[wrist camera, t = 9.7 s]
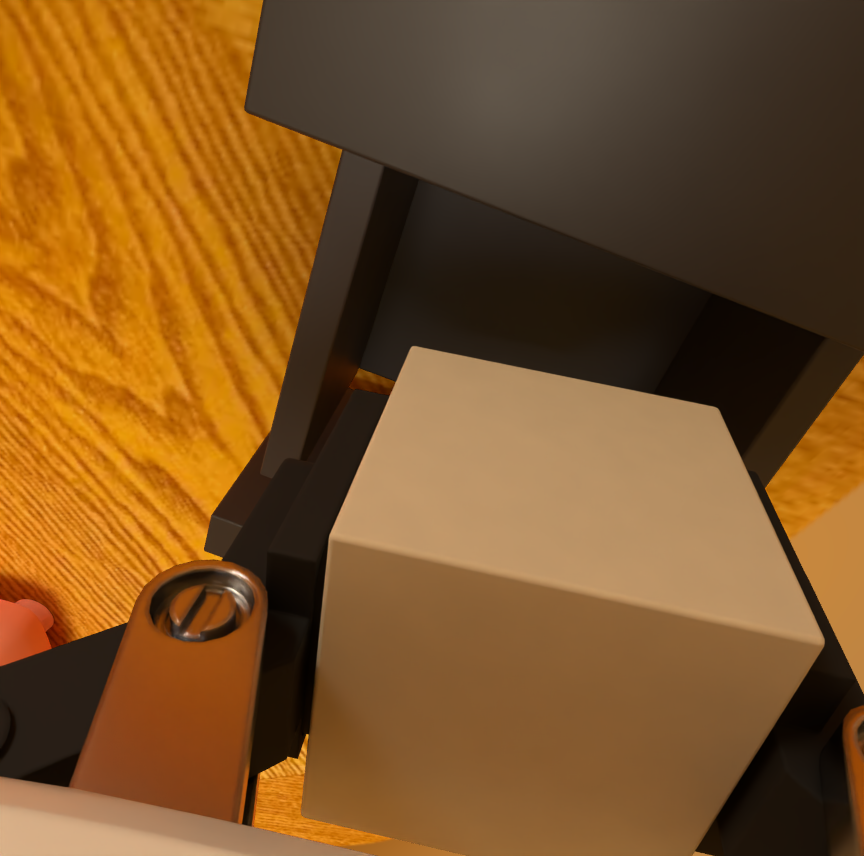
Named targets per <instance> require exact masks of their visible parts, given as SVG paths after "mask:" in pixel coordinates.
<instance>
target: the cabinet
mask: <svg viewBox="0 0 864 856" xmlns="http://www.w3.org/2000/svg"><path fill="white" fill-rule="evenodd" d="M244 108H245V111H246V112H247V113H249V114H251V115H254V116H257V117H259V118H262V119H264V120H267V121H270V122H272V123H275V124H277V125H280V126H282V127H285V128H288V129H290V130H293V131H295V132H298V133H300V134H303V135H306V136H308V137H311V138H313V139H316V140H318V141H321V142H324V143H326V144H329V145H331V146H334V147H336V148H339V149H342V150H344V151H347V152H349V153H352V154H355V155H357V156H360V157H362V158H365V159H367V160H370V161H373V162H375V163H378V164H380V165H383V166H385V167H388V168H391V169H393V170H396V171H398V172H401V173H403V174H406V175H409V176H411V177H414V178H416V179H419V180H421V181H424V182H427V183H429V184H432V185H434V186H437V187H440V188H442V189H445V190H447V191H450V192H452V193H455V194H458V195H460V196H463V197H465V198H468V199H470V200H473V201H476V202H478V203H481V204H483V205H486V206H488V207H491V208H494V209H496V210H499V211H501V212H504V213H506V214H509V215H512V216H514V217H517V218H519V219H522V220H525V221H527V222H530V223H532V224H535V225H537V226H540V227H543V228H545V229H548V230H550V231H553V232H555V233H558V234H561V235H563V236H566V237H568V238H571V239H573V240H576V241H579V242H581V243H584V244H586V245H589V246H591V247H594V248H597V249H599V250H602V251H604V252H607V253H610V254H612V255H615V256H617V257H620V258H622V259H625V260H628V261H630V262H633V263H635V264H638V265H640V266H643V267H646V268H648V269H651V270H653V271H656V272H658V273H661V274H664V275H666V276H669V277H671V278H674V279H676V280H679V281H682V282H684V283H687V284H689V285H692V286H695V287H697V288H700V289H702V290H705V291H707V292H710V293H713V294H715V295H718V296H720V297H723V298H725V299H728V300H731V301H733V302H736V303H738V304H741V305H743V306H746V307H749V308H751V309H754V310H756V311H759V312H761V313H764V314H767V315H769V316H772V317H774V318H777V319H780V320H782V321H785V322H787V323H790V324H792V325H795V326H798V327H800V328H803V329H805V330H808V331H810V332H813V333H816V334H818V335H821V336H823V337H826V338H828V339H831V340H834V341H836V342H839V343H841V344H844V345H846V346H849V347H852V348H854V349H857V350H859V351H862V352H864V0H263V5H262V11H261V17H260V22H259V28H258V33H257V39H256V44H255V50H254V56H253V61H252V67H251V72H250V78H249V84H248V89H247V95H246V100H245V106H244Z"/></svg>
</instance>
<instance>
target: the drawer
mask: <svg viewBox="0 0 864 856" xmlns="http://www.w3.org/2000/svg"><path fill="white" fill-rule="evenodd" d="M412 346H417V347H422V348H427V349H432V350H436V351H441V352H446V353H451V354H456V355H461V356H466V357H471V358H476V359H481V360H486V361H491V362H496V363H501V364H505V365H510V366H515V367H520V368H525V369H530V370H535V371H540V372H545V373H550V374H555V375H560V376H565V377H569V378H574V379H579V380H584V381H589V382H594V383H599V384H604V385H609V386H614V387H619V388H624V389H629V390H634V391H638V392H643V393H648V394H653V395H658V396H663V397H668V398H673V399H678V400H683V401H688V402H693V403H698V404H702V405H707V406H712V407H716V408H718V409H719V411H720V413H721V415H722V417H723V420H724V422H725V424H726V426H727V428H728V430H729V433H730V435H731V437H732V439H733V441H734V444H735V446H736V448H737V450H738V452H739V454H740V457H741V459H742V461H743V463H744V465H745V467H746V470H751V471H755V472H756V473H757V474H758V476H759V478H760V480H761V482H762V484H763V486H764V488H765V487H766V486H767V484H768V483H769V482H770V480H771V479H772V478H773V476H774V475H775V474H776V472H777V471H778V470H779V468H780V467H781V466H782V464H783V463H784V461H785V460H786V459H787V457H788V456H789V455H790V453H791V452H792V451H793V449H794V448H795V447H796V445H797V444H798V443H799V441H800V440H801V439H802V437H803V436H804V434H805V433H806V432H807V430H808V429H809V428H810V426H811V425H812V424H813V422H814V421H815V420H816V418H817V417H818V416H819V414H820V413H821V412H822V410H823V409H824V408H825V406H826V405H827V403H828V402H829V401H830V399H831V398H832V397H833V395H834V394H835V393H836V391H837V390H838V389H839V387H840V386H841V385H842V383H843V382H844V381H845V379H846V378H847V376H848V375H849V374H850V372H851V371H852V370H853V368H854V367H855V366H856V364H857V363H858V362H859V360H860V359H861V358H862V356H863V355H864V352H862V351H859V350H857V349H854V348H852V347H849V346H846V345H844V344H841V343H839V342H836V341H834V340H831V339H828V338H826V337H823V336H821V335H818V334H816V333H813V332H810V331H808V330H805V329H803V328H800V327H798V326H795V325H792V324H790V323H787V322H785V321H782V320H780V319H777V318H774V317H772V316H769V315H767V314H764V313H761V312H759V311H756V310H754V309H751V308H749V307H746V306H743V305H741V304H738V303H736V302H733V301H731V300H728V299H725V298H723V297H720V296H718V295H715V294H713V293H710V292H707V291H705V290H702V289H700V288H697V287H695V286H692V285H689V284H687V283H684V282H682V281H679V280H676V279H674V278H671V277H669V276H666V275H664V274H661V273H658V272H656V271H653V270H651V269H648V268H646V267H643V266H640V265H638V264H635V263H633V262H630V261H628V260H625V259H622V258H620V257H617V256H615V255H612V254H610V253H607V252H604V251H602V250H599V249H597V248H594V247H591V246H589V245H586V244H584V243H581V242H579V241H576V240H573V239H571V238H568V237H566V236H563V235H561V234H558V233H555V232H553V231H550V230H548V229H545V228H543V227H540V226H537V225H535V224H532V223H530V222H527V221H525V220H522V219H519V218H517V217H514V216H512V215H509V214H506V213H504V212H501V211H499V210H496V209H494V208H491V207H488V206H486V205H483V204H481V203H478V202H476V201H473V200H470V199H468V198H465V197H463V196H460V195H458V194H455V193H452V192H450V191H447V190H445V189H442V188H440V187H437V186H434V185H432V184H429V183H427V182H424V181H421V180H419V179H416V178H414V177H411V176H409V175H406V174H403V173H401V172H398V171H396V170H393V169H391V168H388V167H385V166H383V165H380V164H378V163H375V162H373V161H370V160H367V159H365V158H362V157H360V156H357V155H355V154H352V153H349V152H347V151H344V150H342V154H341V158H340V162H339V166H338V169H337V173H336V177H335V181H334V185H333V189H332V193H331V197H330V201H329V205H328V209H327V213H326V216H325V220H324V224H323V228H322V232H321V236H320V240H319V244H318V248H317V252H316V256H315V259H314V263H313V267H312V271H311V275H310V279H309V283H308V287H307V291H306V295H305V299H304V303H303V306H302V310H301V314H300V318H299V322H298V326H297V330H296V334H295V338H294V342H293V346H292V350H291V353H290V357H289V361H288V365H287V369H286V373H285V377H284V381H283V385H282V389H281V393H280V396H279V400H278V404H277V408H276V412H275V416H274V420H273V424H272V428H271V431H270V432H269V434H268V435H267V437H266V438H265V440H264V441H263V442H262V444H261V445H260V447H259V448H258V450H257V451H256V452H255V454H254V455H253V457H252V458H251V460H250V461H249V462H248V464H247V465H246V467H245V468H244V470H243V471H242V472H241V474H240V475H239V477H238V478H237V480H236V481H235V482H234V484H233V485H232V487H231V488H230V490H229V491H228V492H227V494H226V495H225V497H224V498H223V500H222V501H221V502H220V504H219V505H218V507H217V508H216V510H215V511H214V512H213V514H212V515H211V520H210V524H209V529H208V534H207V538H206V543H205V547H204V551H206V552H209V553H212V554H214V555H217V556H220V557H224V556H225V554H226V552H227V551H228V549H229V548H230V546H231V544H232V543H233V541H234V540H235V538H236V536H237V535H238V533H239V531H240V530H241V528H242V527H243V525H244V523H245V522H246V520H247V519H248V517H249V515H250V514H251V512H252V510H253V509H254V507H255V506H256V504H257V502H258V501H259V499H260V497H261V496H262V494H263V493H264V491H265V489H266V488H267V486H268V485H269V483H270V481H271V480H272V478H273V476H274V475H275V473H276V472H277V470H278V468H279V467H280V465H281V464H282V462H283V461H284V460H285V459H286V458H293V459H298V460H302V461H307V462H312V463H315V462H316V460H317V458H318V456H319V454H320V452H321V450H322V449H323V447H324V445H325V443H326V441H327V439H328V438H329V436H330V434H331V432H332V430H333V428H334V426H335V425H336V423H337V421H338V419H339V417H340V415H341V414H342V412H343V410H344V408H345V406H346V404H347V402H348V401H349V399H350V397H351V395H352V393H353V391H354V390H352V389H350V388H348V387H349V385H350V383H351V382H352V380H353V378H354V376H355V375H356V373H357V371H358V369H359V368H361V369H363V370H366V371H369V372H371V373H374V374H377V375H379V376H382V377H385V378H387V379H390V380H393V381H395V382H396V381H397V378H398V376H399V374H400V371H401V369H402V367H403V364H404V362H405V360H406V357H407V355H408V353H409V351H410V349H411V347H412Z"/></svg>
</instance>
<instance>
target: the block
mask: <svg viewBox="0 0 864 856" xmlns="http://www.w3.org/2000/svg"><path fill="white" fill-rule="evenodd" d="M824 643H825V640H824V637H823V635H822V632H821V630H820V628H819V626H818V624H817V622H816V619H815V617H814V615H813V613H812V611H811V609H810V606H809V604H808V602H807V600H806V598H805V596H804V593H803V591H802V589H801V587H800V585H799V582H798V580H797V578H796V576H795V574H794V572H793V569H792V567H791V565H790V563H789V561H788V559H787V556H786V554H785V552H784V550H783V548H782V546H781V543H780V541H779V539H778V537H777V535H776V533H775V530H774V528H773V526H772V524H771V522H770V520H769V517H768V515H767V513H766V511H765V509H764V506H763V504H762V502H761V500H760V498H759V496H758V493H757V491H756V489H755V487H754V485H753V483H752V480H751V478H750V476H749V474H748V472H747V470H746V467H745V465H744V463H743V461H742V459H741V457H740V454H739V452H738V450H737V448H736V446H735V444H734V441H733V439H732V437H731V435H730V433H729V430H728V428H727V426H726V424H725V422H724V420H723V417H722V415H721V413H720V411H719V409H718V408H716V407H712V406H707V405H702V404H698V403H693V402H688V401H683V400H678V399H673V398H668V397H663V396H658V395H653V394H648V393H643V392H638V391H634V390H629V389H624V388H619V387H614V386H609V385H604V384H599V383H594V382H589V381H584V380H579V379H574V378H569V377H565V376H560V375H555V374H550V373H545V372H540V371H535V370H530V369H525V368H520V367H515V366H510V365H505V364H501V363H496V362H491V361H486V360H481V359H476V358H471V357H466V356H461V355H456V354H451V353H446V352H441V351H436V350H432V349H427V348H422V347H417V346H412V347H411V349H410V351H409V353H408V355H407V357H406V360H405V362H404V364H403V367H402V369H401V371H400V374H399V376H398V378H397V381H396V383H395V385H394V387H393V390H392V392H391V394H390V397H389V399H388V401H387V404H386V406H385V408H384V410H383V413H382V415H381V417H380V420H379V422H378V424H377V427H376V429H375V431H374V434H373V436H372V438H371V440H370V443H369V445H368V447H367V450H366V452H365V454H364V457H363V459H362V461H361V464H360V466H359V468H358V470H357V473H356V475H355V477H354V480H353V482H352V484H351V487H350V489H349V491H348V493H347V496H346V498H345V500H344V503H343V505H342V507H341V510H340V512H339V514H338V517H337V519H336V521H335V523H334V526H333V528H332V530H331V533H330V535H329V543H328V552H327V562H326V572H325V582H324V591H323V601H322V611H321V621H320V630H319V640H318V650H317V660H316V669H315V679H314V689H313V698H312V708H311V718H310V728H309V737H308V747H307V757H306V767H305V776H304V786H303V796H302V806H301V815H302V816H303V817H305V818H309V819H313V820H318V821H322V822H326V823H330V824H334V825H339V826H343V827H347V828H351V829H356V830H360V831H364V832H368V833H373V834H377V835H381V836H385V837H389V838H394V839H398V840H402V841H407V842H411V843H415V844H419V845H424V846H428V847H432V848H436V849H440V850H445V851H449V852H453V853H458V854H462V855H466V856H692V855H693V853H694V852H695V850H696V849H697V847H698V845H699V844H700V842H701V841H702V839H703V838H704V836H705V834H706V833H707V831H708V830H709V828H710V826H711V825H712V823H713V822H714V820H715V819H716V817H717V815H718V814H719V812H720V811H721V809H722V807H723V806H724V804H725V803H726V801H727V799H728V798H729V796H730V795H731V793H732V792H733V790H734V788H735V787H736V785H737V784H738V782H739V780H740V779H741V777H742V776H743V774H744V773H745V771H746V769H747V768H748V766H749V765H750V763H751V761H752V760H753V758H754V757H755V755H756V754H757V752H758V750H759V749H760V747H761V746H762V744H763V742H764V741H765V739H766V738H767V736H768V734H769V733H770V731H771V730H772V728H773V727H774V725H775V723H776V722H777V720H778V719H779V717H780V715H781V714H782V712H783V711H784V709H785V708H786V706H787V704H788V703H789V701H790V700H791V698H792V696H793V695H794V693H795V692H796V690H797V688H798V687H799V685H800V684H801V682H802V681H803V679H804V677H805V676H806V674H807V673H808V671H809V669H810V668H811V666H812V665H813V663H814V662H815V660H816V658H817V657H818V655H819V654H820V652H821V650H822V649H823V647H824Z"/></svg>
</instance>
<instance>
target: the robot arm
mask: <svg viewBox="0 0 864 856" xmlns="http://www.w3.org/2000/svg"><path fill="white" fill-rule="evenodd" d="M389 397H390V396H388V395H383V394H378V393H373V392H369V391H364V390H359V389H355V390H354V391H353V393H352V395H351V397H350V399H349V401H348V402H347V404H346V406H345V408H344V410H343V412H342V414H341V415H340V417H339V419H338V421H337V423H336V425H335V426H334V428H333V430H332V432H331V434H330V436H329V438H328V439H327V441H326V443H325V445H324V447H323V449H322V450H321V452H320V454H319V456H318V458H317V460H316V462H315V463H312V462H307V461H302V460H298V459H293V458H286V459H285V460H284V461H283V462H282V464H281V465H280V467H279V468H278V470H277V472H276V473H275V475H274V476H273V478H272V480H271V481H270V483H269V485H268V486H267V488H266V489H265V491H264V493H263V494H262V496H261V497H260V499H259V501H258V502H257V504H256V506H255V507H254V509H253V510H252V512H251V514H250V515H249V517H248V519H247V520H246V522H245V523H244V525H243V527H242V528H241V530H240V531H239V533H238V535H237V536H236V538H235V540H234V541H233V543H232V544H231V546H230V548H229V549H228V551H227V552H226V554H225V556H224V557H223V559H222V561H220V560H197V561H191V562H187V563H183V564H179V565H176V566H173V567H172V568H170V569H168V570H166V571H164V572H162V573H160V574H158V575H157V576H156V577H154V578H153V579H152V580H151V581H150V582H149V583H148V584H146V585H145V586H144V588H143V590H142V591H141V593H140V595H139V596H138V598H137V600H136V602H135V605H134V607H133V610H132V613H131V616H130V618H129V621H128V622H127V623H125V624H122V625H119V626H116V627H113V628H110V629H107V630H104V631H101V632H99V633H96V634H93V635H90V636H87V637H84V638H81V639H78V640H75V641H72V642H70V643H67V644H64V645H61V646H58V647H55V648H52V649H49V650H46V651H44V652H41V653H38V654H35V655H32V656H29V657H26V658H23V659H20V660H17V661H15V662H12V663H9V664H6V665H3V666H0V856H376V855H371V854H367V853H363V852H358V851H354V850H350V849H346V848H341V847H337V846H333V845H328V844H324V843H320V842H315V841H311V840H307V839H302V838H298V837H294V836H290V835H285V834H281V833H277V832H272V831H268V830H264V829H259V828H255V827H254V820H255V812H256V804H257V795H258V787H259V779H260V773H261V772H262V771H264V770H266V769H268V768H270V767H272V766H274V765H276V764H278V763H280V762H282V761H284V760H286V759H287V757H292V758H296V759H298V756H299V754H300V751H301V748H302V745H303V742H304V739H305V736H306V734H309V728H310V718H311V708H312V698H313V689H314V679H315V669H316V660H317V650H318V640H319V630H320V621H321V611H322V601H323V591H324V582H325V572H326V562H327V552H328V543H329V535H330V533H331V530H332V528H333V526H334V523H335V521H336V519H337V517H338V514H339V512H340V510H341V507H342V505H343V503H344V500H345V498H346V496H347V493H348V491H349V489H350V487H351V484H352V482H353V480H354V477H355V475H356V473H357V470H358V468H359V466H360V464H361V461H362V459H363V457H364V454H365V452H366V450H367V447H368V445H369V443H370V440H371V438H372V436H373V434H374V431H375V429H376V427H377V424H378V422H379V420H380V417H381V415H382V413H383V410H384V408H385V406H386V404H387V401H388V399H389ZM747 472H748V474H749V476H750V478H751V480H752V483H753V485H754V487H755V489H756V491H757V493H758V496H759V498H760V500H761V502H762V504H763V506H764V509H765V511H766V513H767V515H768V517H769V520H770V522H771V524H772V526H773V528H774V530H775V533H776V535H777V537H778V539H779V541H780V543H781V546H782V548H783V550H784V552H785V554H786V556H787V559H788V561H789V563H790V565H791V567H792V569H793V572H794V574H795V576H796V578H797V580H798V582H799V585H800V587H801V589H802V591H803V593H804V596H805V598H806V600H807V602H808V604H809V606H810V609H811V611H812V613H813V615H814V617H815V619H816V622H817V624H818V626H819V628H820V630H821V632H822V635H823V637H824V640H825V643H824V647H823V649H822V650H821V652H820V654H819V655H818V657H817V658H816V660H815V662H814V663H813V665H812V666H811V668H810V669H809V671H808V673H807V674H806V676H805V677H804V679H803V681H802V682H801V684H800V685H799V687H798V688H797V690H796V692H795V693H794V695H793V696H792V698H791V700H790V701H789V703H788V704H787V706H786V708H785V709H784V711H783V712H782V714H781V715H780V717H779V719H778V720H777V722H776V723H775V725H774V727H773V728H772V730H771V731H770V733H769V734H768V736H767V738H766V739H765V741H764V742H763V744H762V746H761V747H760V749H759V750H758V752H757V754H756V755H755V757H754V758H753V760H752V761H751V763H750V765H749V766H748V768H747V769H746V771H745V773H744V774H743V776H742V777H741V779H740V780H739V782H738V784H737V785H736V787H735V788H734V790H733V792H732V793H731V795H730V796H729V798H728V799H727V801H726V803H725V804H724V806H723V807H722V809H721V811H720V812H719V814H718V815H717V817H716V819H715V820H714V822H713V823H712V825H711V826H710V828H709V830H708V831H707V833H706V834H705V836H704V838H703V839H702V841H701V842H700V844H699V845H698V847H697V849H696V850H695V851H696V852H700V853H705V854H709V855H713V856H864V694H863V692H862V690H861V688H860V686H859V683H858V681H857V679H856V677H855V675H854V673H853V671H852V669H851V667H850V665H849V663H848V661H847V659H846V656H845V654H844V652H843V650H842V648H841V646H840V644H839V642H838V640H837V638H836V636H835V633H834V631H833V629H832V627H831V625H830V623H829V621H828V619H827V617H826V615H825V613H824V611H823V608H822V606H821V604H820V602H819V600H818V598H817V596H816V594H815V592H814V590H813V588H812V586H811V583H810V581H809V579H808V577H807V576H806V574H805V572H804V570H803V568H802V566H801V564H800V562H799V559H798V557H797V555H796V553H795V551H794V549H793V547H792V545H791V543H790V541H789V539H788V536H787V534H786V532H785V530H784V528H783V526H782V524H781V522H780V520H779V518H778V516H777V513H776V511H775V509H774V507H773V505H772V503H771V501H770V499H769V497H768V495H767V493H766V491H765V488H764V486H763V484H762V482H761V480H760V478H759V476H758V474H757V473H756V472H755V471H751V470H747Z"/></svg>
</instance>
